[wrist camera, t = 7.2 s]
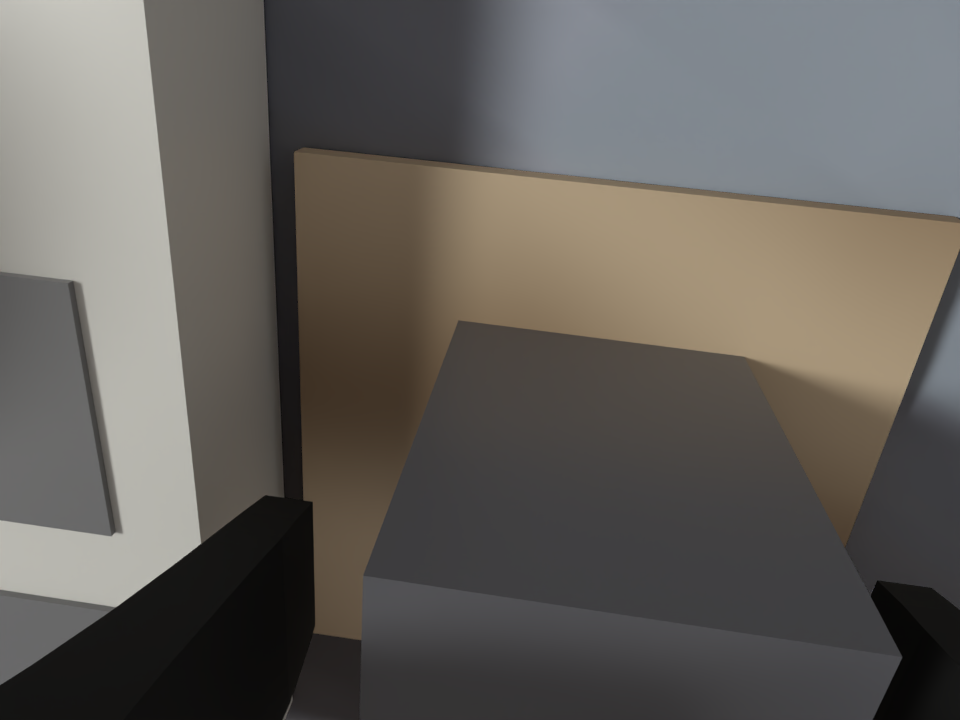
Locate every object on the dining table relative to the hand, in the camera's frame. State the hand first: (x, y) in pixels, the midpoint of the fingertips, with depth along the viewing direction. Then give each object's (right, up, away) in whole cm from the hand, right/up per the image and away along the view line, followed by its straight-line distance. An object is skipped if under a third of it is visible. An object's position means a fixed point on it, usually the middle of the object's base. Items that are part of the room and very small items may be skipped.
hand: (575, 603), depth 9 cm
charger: (0, +1, +3) cm, 3 cm away
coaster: (0, +1, +3) cm, 3 cm away
